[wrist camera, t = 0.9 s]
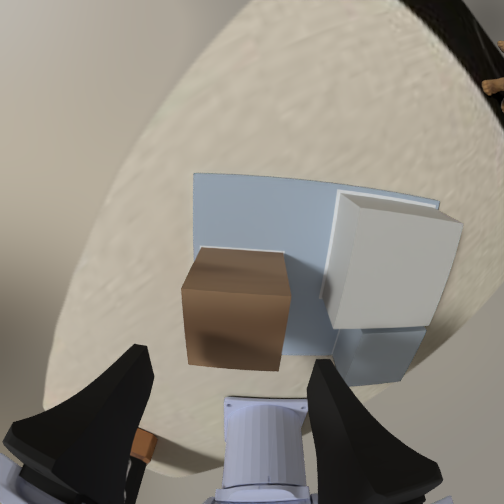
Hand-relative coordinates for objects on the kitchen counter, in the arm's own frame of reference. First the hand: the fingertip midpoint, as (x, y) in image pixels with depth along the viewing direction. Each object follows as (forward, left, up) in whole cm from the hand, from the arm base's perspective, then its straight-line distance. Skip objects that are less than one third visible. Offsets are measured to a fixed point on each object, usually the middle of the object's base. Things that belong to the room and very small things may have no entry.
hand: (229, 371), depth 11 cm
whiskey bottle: (-26, +16, -8) cm, 32 cm away
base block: (+3, -9, -8) cm, 12 cm away
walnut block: (0, 0, -8) cm, 8 cm away
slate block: (-3, -10, -8) cm, 13 cm away
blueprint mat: (0, -5, -8) cm, 9 cm away
